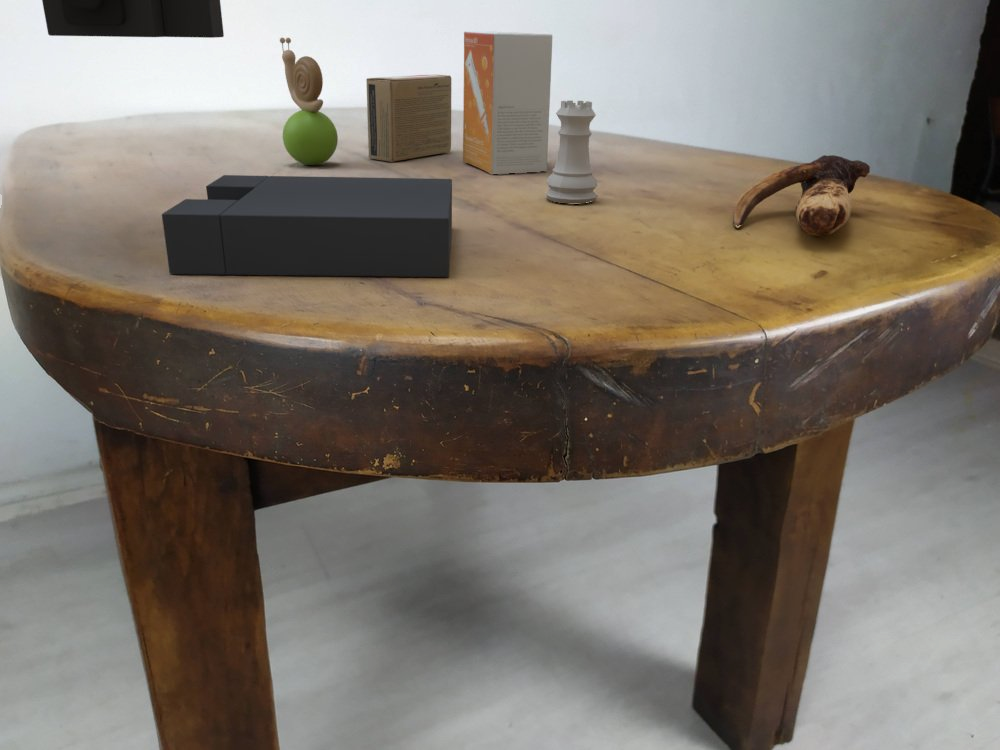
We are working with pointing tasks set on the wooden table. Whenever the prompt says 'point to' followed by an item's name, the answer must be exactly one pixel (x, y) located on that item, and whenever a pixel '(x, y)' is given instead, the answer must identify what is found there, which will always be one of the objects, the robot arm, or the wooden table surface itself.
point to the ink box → (408, 116)
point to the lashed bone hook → (811, 193)
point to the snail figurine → (307, 112)
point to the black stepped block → (146, 20)
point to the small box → (506, 101)
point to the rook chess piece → (573, 156)
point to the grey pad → (313, 227)
